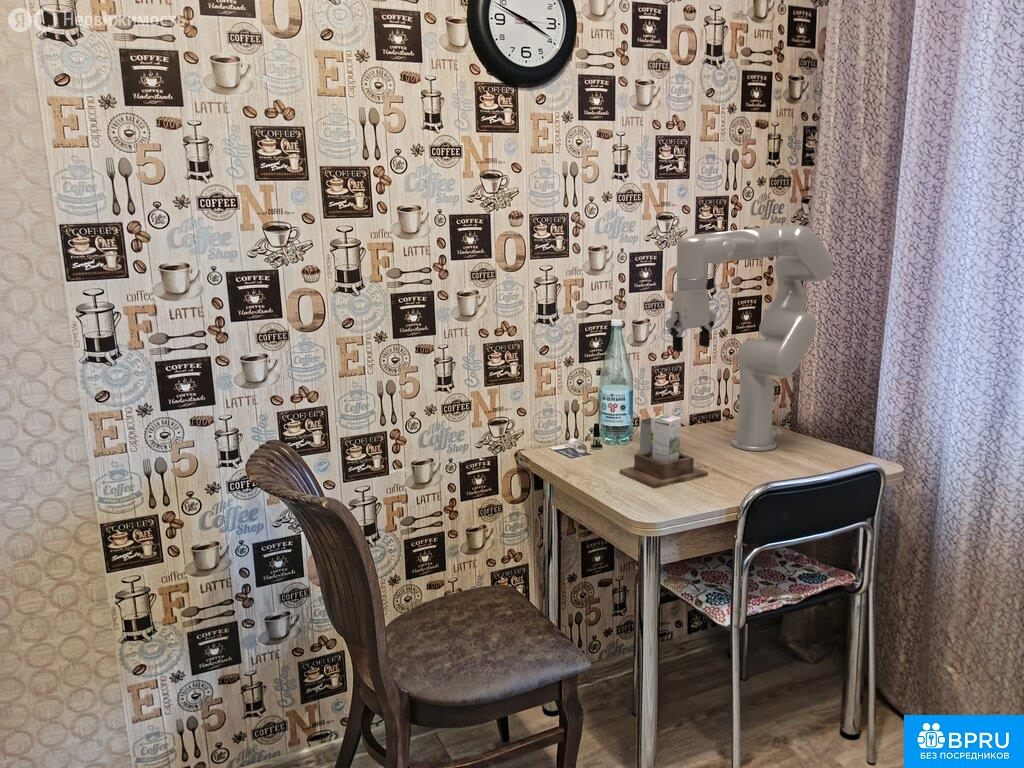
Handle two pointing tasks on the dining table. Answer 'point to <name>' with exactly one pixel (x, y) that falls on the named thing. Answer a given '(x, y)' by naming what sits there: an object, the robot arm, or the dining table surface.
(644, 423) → the cup
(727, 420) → the dining table surface
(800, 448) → the dining table surface
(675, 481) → the box
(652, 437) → the syrup box
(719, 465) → the dining table surface
